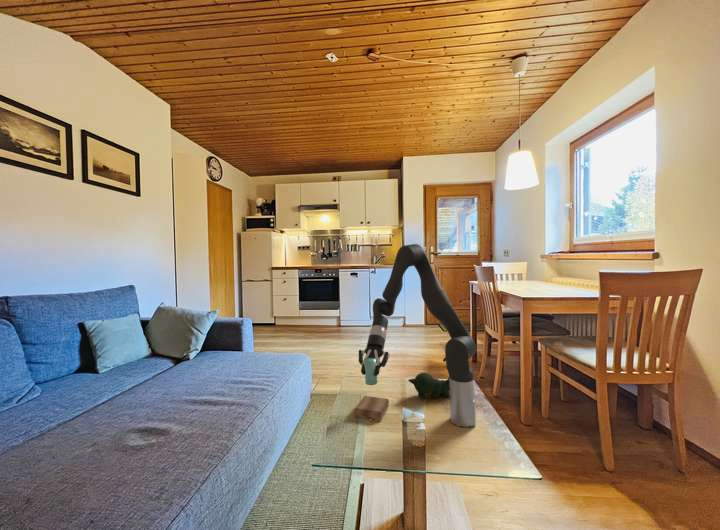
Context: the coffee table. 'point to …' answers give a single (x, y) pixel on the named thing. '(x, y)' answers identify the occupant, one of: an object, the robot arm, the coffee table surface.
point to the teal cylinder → (370, 371)
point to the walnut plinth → (371, 408)
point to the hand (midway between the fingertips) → (369, 374)
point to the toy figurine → (430, 385)
